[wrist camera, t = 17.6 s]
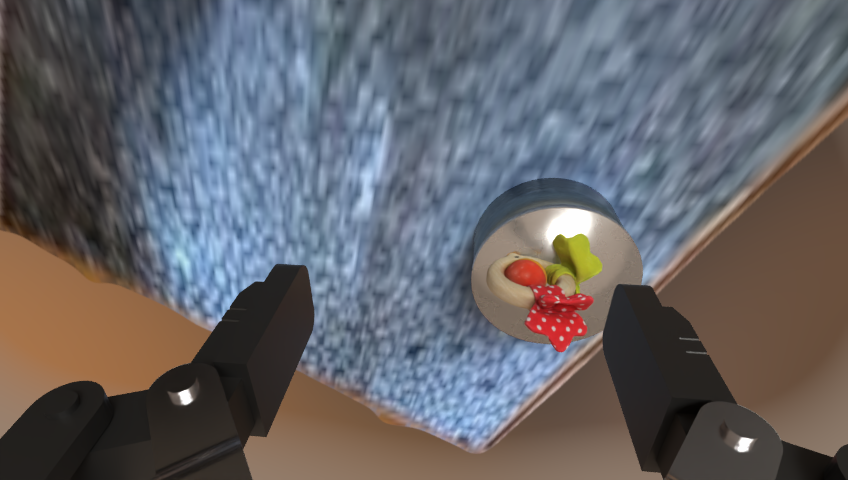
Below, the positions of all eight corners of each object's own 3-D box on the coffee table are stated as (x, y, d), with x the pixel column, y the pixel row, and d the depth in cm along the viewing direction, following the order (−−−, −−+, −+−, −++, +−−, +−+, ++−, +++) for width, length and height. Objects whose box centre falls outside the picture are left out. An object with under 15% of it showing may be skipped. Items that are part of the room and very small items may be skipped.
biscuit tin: (470, 298, 54) (470, 340, 48) (473, 174, 46) (472, 207, 40) (608, 302, 52) (625, 347, 47) (635, 175, 45) (659, 209, 39)
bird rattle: (508, 272, 46) (605, 298, 42) (460, 343, 38) (574, 383, 34) (512, 216, 43) (617, 237, 39) (460, 280, 34) (586, 315, 30)
